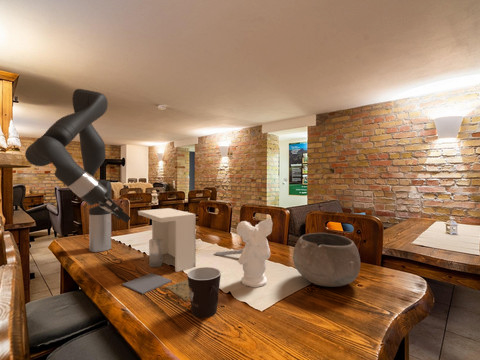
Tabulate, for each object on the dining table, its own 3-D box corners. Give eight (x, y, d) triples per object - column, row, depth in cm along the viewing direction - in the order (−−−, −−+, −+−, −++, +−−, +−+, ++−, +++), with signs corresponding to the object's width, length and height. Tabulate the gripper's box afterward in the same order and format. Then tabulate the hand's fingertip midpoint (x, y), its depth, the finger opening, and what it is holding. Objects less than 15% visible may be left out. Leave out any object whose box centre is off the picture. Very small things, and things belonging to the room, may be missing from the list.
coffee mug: (189, 303, 68) (189, 267, 68) (220, 302, 69) (220, 266, 68) (183, 329, 56) (183, 286, 56) (221, 327, 57) (221, 284, 57)
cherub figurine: (234, 284, 80) (233, 217, 80) (246, 271, 92) (245, 212, 91) (270, 290, 76) (269, 219, 76) (278, 275, 87) (277, 213, 87)
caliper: (257, 260, 104) (257, 245, 104) (256, 261, 103) (256, 246, 103) (214, 254, 112) (214, 240, 112) (213, 255, 111) (213, 241, 111)
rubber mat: (122, 284, 79) (122, 283, 79) (151, 274, 88) (151, 272, 88) (142, 294, 73) (142, 292, 73) (171, 281, 82) (171, 280, 82)
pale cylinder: (146, 265, 97) (146, 240, 97) (157, 261, 101) (157, 237, 101) (154, 268, 94) (154, 242, 94) (165, 264, 98) (165, 239, 98)
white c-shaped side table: (138, 258, 105) (138, 210, 105) (169, 252, 114) (169, 208, 114) (160, 276, 87) (160, 217, 86) (195, 266, 96) (195, 214, 95)
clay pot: (356, 274, 88) (356, 233, 88) (365, 303, 68) (365, 249, 68) (296, 267, 95) (296, 229, 95) (288, 291, 75) (288, 242, 75)
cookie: (195, 277, 86) (195, 275, 86) (217, 288, 78) (217, 285, 78) (164, 288, 78) (164, 285, 78) (184, 302, 69) (184, 299, 69)
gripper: (102, 180, 79) (138, 213, 86) (93, 180, 90) (126, 209, 97) (82, 197, 75) (122, 230, 83) (76, 195, 86) (112, 224, 94)
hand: (124, 218), depth 90 cm, fingers open, 8 cm apart
